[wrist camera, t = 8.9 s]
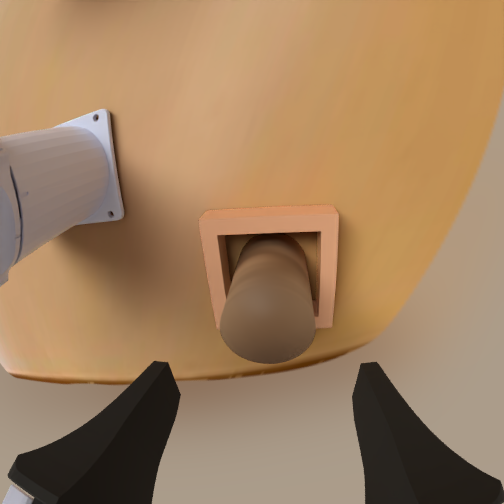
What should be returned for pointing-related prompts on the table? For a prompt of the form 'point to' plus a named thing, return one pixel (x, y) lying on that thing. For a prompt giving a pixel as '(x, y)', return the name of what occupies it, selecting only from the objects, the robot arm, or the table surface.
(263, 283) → the walnut peg
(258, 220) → the square collar
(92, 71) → the table surface
